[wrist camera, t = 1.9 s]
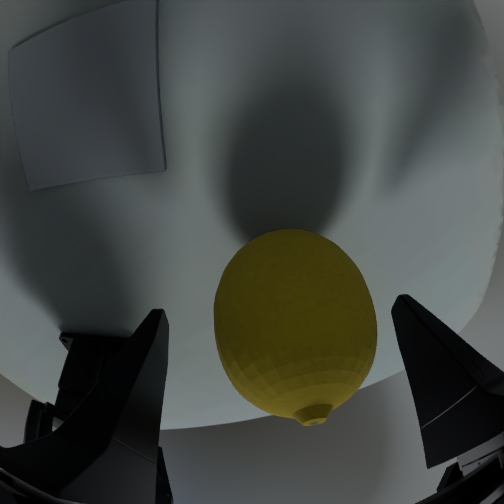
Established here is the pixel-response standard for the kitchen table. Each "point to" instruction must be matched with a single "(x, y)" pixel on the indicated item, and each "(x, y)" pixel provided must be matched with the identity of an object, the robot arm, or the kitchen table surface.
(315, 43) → the kitchen table surface
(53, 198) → the kitchen table surface
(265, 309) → the lemon
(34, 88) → the mat
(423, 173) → the kitchen table surface
